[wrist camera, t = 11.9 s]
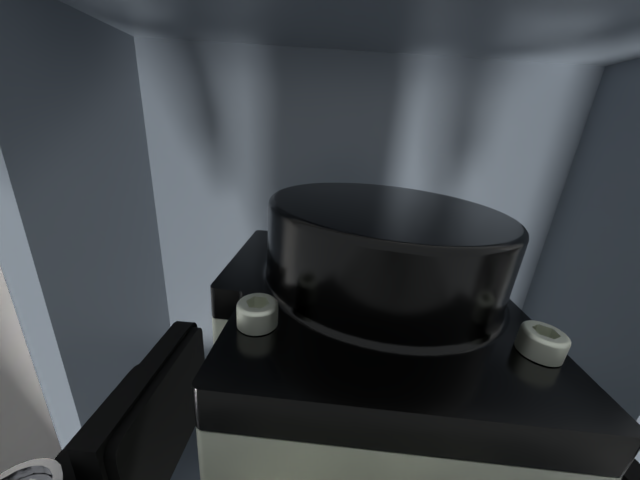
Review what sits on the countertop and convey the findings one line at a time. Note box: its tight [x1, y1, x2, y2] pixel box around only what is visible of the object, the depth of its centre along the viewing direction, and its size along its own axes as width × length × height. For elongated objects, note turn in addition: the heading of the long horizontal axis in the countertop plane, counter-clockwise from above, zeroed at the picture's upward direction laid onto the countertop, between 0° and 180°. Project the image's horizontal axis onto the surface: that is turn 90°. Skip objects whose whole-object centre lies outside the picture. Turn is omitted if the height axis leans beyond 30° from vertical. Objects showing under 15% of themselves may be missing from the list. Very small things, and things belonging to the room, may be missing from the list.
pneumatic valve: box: [192, 183, 640, 480], centre depth 9 cm, size 6×12×12 cm, turn 175°
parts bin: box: [0, 0, 640, 480], centre depth 12 cm, size 22×20×7 cm
